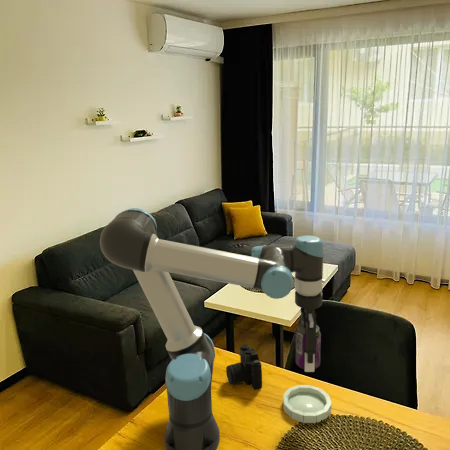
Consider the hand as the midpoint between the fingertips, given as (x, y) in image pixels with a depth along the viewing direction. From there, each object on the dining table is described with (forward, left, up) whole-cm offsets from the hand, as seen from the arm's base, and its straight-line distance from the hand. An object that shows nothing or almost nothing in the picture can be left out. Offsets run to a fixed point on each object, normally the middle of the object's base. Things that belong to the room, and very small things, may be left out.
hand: (307, 363), depth 127 cm
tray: (0, 0, -15) cm, 15 cm away
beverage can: (0, 0, -1) cm, 1 cm away
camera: (-20, +14, -15) cm, 28 cm away
